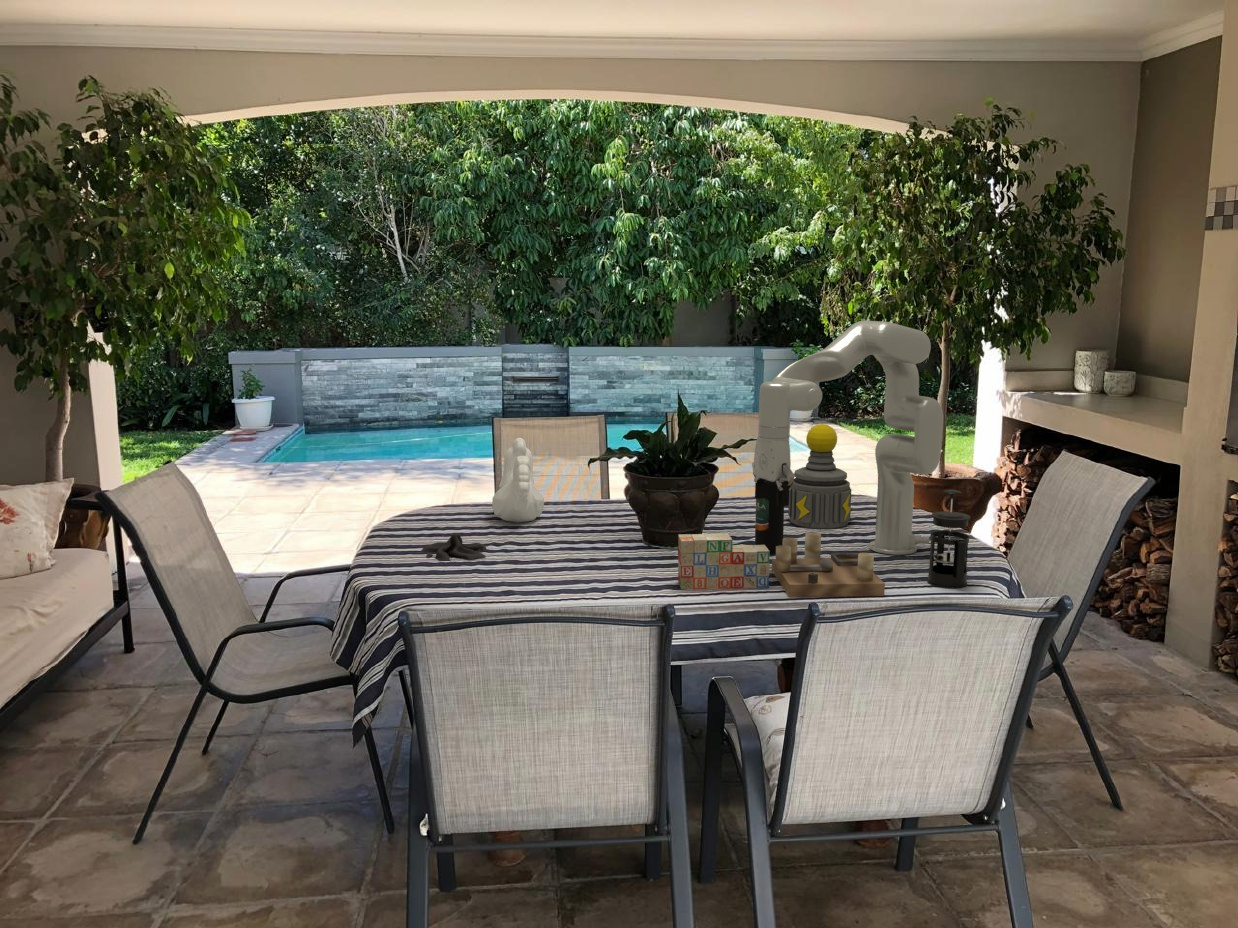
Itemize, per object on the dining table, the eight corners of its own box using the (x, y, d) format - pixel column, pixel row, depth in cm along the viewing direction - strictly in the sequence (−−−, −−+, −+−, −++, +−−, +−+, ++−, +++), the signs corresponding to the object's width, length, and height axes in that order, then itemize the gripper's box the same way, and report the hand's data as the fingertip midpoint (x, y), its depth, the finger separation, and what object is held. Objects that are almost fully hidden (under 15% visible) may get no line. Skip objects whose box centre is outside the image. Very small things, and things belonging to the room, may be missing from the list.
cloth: (421, 546, 294) (420, 525, 293) (489, 544, 295) (488, 523, 294) (414, 568, 272) (413, 545, 271) (487, 566, 274) (486, 543, 273)
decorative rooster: (496, 512, 332) (494, 434, 328) (546, 512, 332) (545, 434, 327) (484, 531, 307) (482, 447, 303) (538, 532, 307) (537, 447, 303)
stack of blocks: (764, 581, 260) (765, 532, 257) (769, 588, 253) (770, 538, 251) (677, 582, 258) (677, 533, 256) (680, 590, 252) (680, 540, 250)
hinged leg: (830, 567, 259) (831, 544, 258) (834, 571, 256) (835, 548, 255) (774, 567, 259) (774, 545, 258) (776, 572, 255) (777, 549, 254)
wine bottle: (782, 555, 283) (785, 444, 277) (753, 553, 284) (756, 443, 279) (783, 547, 290) (786, 439, 284) (755, 546, 291) (758, 438, 286)
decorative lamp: (862, 521, 320) (866, 423, 315) (830, 533, 306) (834, 430, 301) (808, 512, 332) (811, 417, 327) (775, 522, 319) (777, 424, 313)
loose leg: (818, 561, 277) (819, 531, 275) (821, 565, 273) (822, 535, 271) (803, 561, 276) (803, 531, 275) (806, 565, 273) (807, 535, 271)
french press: (919, 577, 262) (923, 486, 258) (954, 575, 264) (959, 485, 259) (941, 591, 251) (946, 496, 246) (977, 589, 252) (984, 495, 248)
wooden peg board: (859, 569, 269) (860, 534, 268) (884, 595, 247) (886, 558, 246) (771, 570, 268) (772, 535, 267) (789, 597, 246) (790, 559, 245)
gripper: (742, 429, 262) (740, 496, 265) (780, 438, 247) (777, 510, 250) (767, 427, 265) (765, 494, 268) (807, 437, 250) (804, 508, 253)
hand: (771, 502), depth 259 cm, fingers open, 9 cm apart
